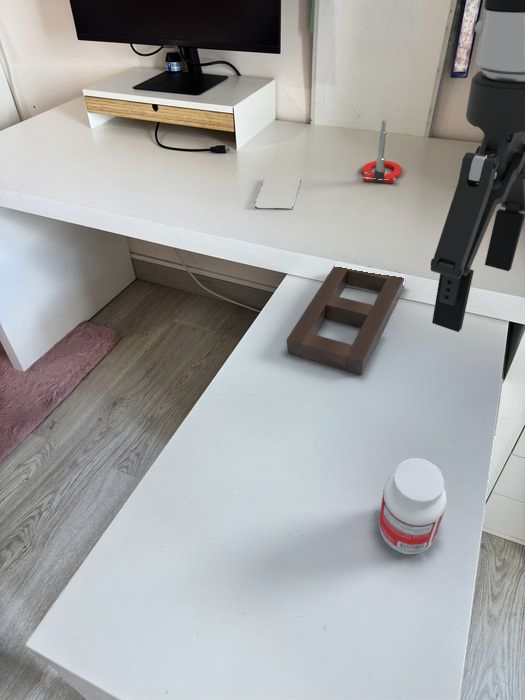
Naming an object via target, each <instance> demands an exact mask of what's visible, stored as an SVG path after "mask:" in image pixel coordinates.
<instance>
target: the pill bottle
mask: <svg viewBox="0 0 525 700" xmlns="http://www.w3.org/2000/svg"><path fill="white" fill-rule="evenodd" d="M444 479H445V478H444V476H443V474H442V472H441V470H440V469H439V467H437V466H436V465H435V464H434V463H433V462H431V461H430V460H427V459H424V458H419V457H411V458H407V459H405V460H402V461H401V462H400V463H398V465H397V466H396V468H395V470H394V471H393V472H392V473H391V474H390V475H389V476H388V478H387V479H386V480H385V483H384V486H383V489H382V490H383V491H382V498H381V505H380V513H379V520H378V527H379V532H380V534H381V536H382V538H383V540H384V542H386V544H387V545H388V546H389V547H390V548H391V549H393V550H395V551H396V552H399V553H402V554H404V555H418V554H421V553H423V552H426V551H427V550H428V549H429V548H430V547H431V546H432V545H433V544H434V541H435V540H436V538H437V537H436V536H437V534H438V531H439V528H440V524H441V522H442V519H443V516H444V513H445V511H446V509H447V503H448V496H447V491H446V489H445V480H444Z"/></svg>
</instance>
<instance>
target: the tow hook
mask: <svg viewBox="0 0 525 700" xmlns="http://www.w3.org/2000/svg"><path fill="white" fill-rule="evenodd" d="M386 124H387V120H385V119H383V120H381V128H380V129H381V130H380V131H379V141H378V153H377V158H376V160H374V161H370V162H367V163H366V164H364V165H363V167H362V175H363V176H364V177H369V178H370V177H371V178H376V179H366V178H363V177H362V181H363V182H373V183H380V184H381V183H382V184H383V183H386V184H394V183H395V181H396V178H398V177H399V176H400V175H401V174H402V165H399V163H397V162H394V161H391V160H385V159H386V158H385V157H384V156H385V146H386V137H387V131H386ZM385 167H386V168H390V169H392V170H393V171H392V172H391V171H390V172H388V173H386V169H385ZM373 168H374V171H371V170H372V169H373ZM364 172H368V173H367V174H365V173H364ZM368 174H370V175H368ZM378 179H383V180H378ZM384 179H389V180H384Z"/></svg>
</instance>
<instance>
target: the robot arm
mask: <svg viewBox="0 0 525 700" xmlns="http://www.w3.org/2000/svg"><path fill="white" fill-rule="evenodd" d="M474 32H475V33H476V34H477V35H479V38H478V43H477V50H476V58H475V63H474V64H475V65H476V66H477V67H478V68H479V71H477V72H476V73H475V74H474V76H473V77H471V81H470V89H469V94H468V101H467V106H466V112H465V117H466V121H467V122H468V123H469V125H471V126H473V127H474V128H479V129H480V130H481V131H482V133H483V137H482V140H481V143H480V145H478V146H477V148H476V150H475V152H468V151H467V152H466V153H465V154H464V156H463V158H462V160H461V166H460V172H459V175H458V181H457V184H456V187H455V191H454V194H453V196H452V200H451V202H450V203H451V204H450V207H449V210H448V212H447V216H446V218H445V222H444V225H443V228H442V230H441V234H440V237H439V241H438V243H437V247H436V249H435V254H434V256H433V258H431V260H430V271H431V272H433V273H438V274H439V279H438V283H437V284H438V285H437V292H436V297H435V303H434V309H433V316H432V320H431V321H432V322H431V323H432V324H433V325H436V326H439V327H442V328H445V329H447V330H451V331H453V332H456V333H459V332H460V331H461V330H462V329H463V324H464V318H465V314H466V310H467V305H468V301H469V295H470V291H471V286H472V282H473V277H474V272H475V270H474V269H472V265H473V263H474V261H475V258H476V256H477V254H478V251H479V248H480V246H481V244H482V242H483V239H484V237H485V234H486V232H487V230H488V227H489V225H490V222H491V220H492V217H493V215H494V214H495V217H494V220H493V221H494V222H493V225H492V230H491V235H490V239H489V244H488V249H487V253H486V257H485V262H484V266H487V267H491V268H494V269H498V270H501V271H506V272H510V271H511V270H512V266H513V263H514V259H515V255H516V251H517V247H518V244H519V240H520V236H521V233H522V229H523V225H524V221H525V213H522V212H525V0H485V1H484V8H483V13H482V19H481V20H478V21H477V23H476V24H475V26H474ZM499 204H500V206H501V208H499V209H498V210H497V211H496V213H495V210H496V208H497V206H498V205H499ZM502 208H505V209H502Z"/></svg>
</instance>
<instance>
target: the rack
mask: <svg viewBox="0 0 525 700" xmlns="http://www.w3.org/2000/svg"><path fill="white" fill-rule="evenodd" d="M324 279H325V280H324V281H323V282H322V284H321V285H320V287H319V289H318V290H317V291H316V293H315V295H314V296H313V298H312V299H311V301H310V302H309V304H308V306H307V307H306V309H305V310H304V312H303V313H302V315H301V317H299V319H298V321H297V322H296V324H295V326H293V329H292V330H291V332H290V333H289V335H288V336H287V338H286V348H287V354H289V355H293V356H296V357H300V358H303V359H306V360H309V361H312V362H317V363H318V364H319V363H320V364H321V365H326V366H329V367H333V368H336V369H338V370H342V371H345V372H350V373H353V374H356V375H360V376H363V374H364V372H365V370H366V368H367V366H368V364H369V362H370V360H371V357H372V355H373V354H374V352H375V350H376V348H377V345H378V344H379V341H380V340H381V339H380V338H381V337H382V335H383V333H384V331H385V329H386V327H387V324H388V323H389V320H390V318H391V316H392V314H393V311H394V310H395V308H396V306H397V304H398V302H399V300H400V298H401V296H402V294H403V292H404V290H405V286H406V284H405V285H404V286H403V282H404V278H402V277H396V276H389V275H381V274H375V273H368V272H363V271H357V270H352V269H347V268H342V267H335V266H334V265H333V267H332V268H331V270H330V271H329V273H328V274H327V276H326V278H324ZM347 285H348V286H353V287H358V288H360V289H361V288H362V289H366V290H370V291H374V292H377V293H378V292H379V293H378V295H377V297H376V299H375V300H374V303H373V304H370V303H366V302H362V301H358V300H353V299H349V298H345V297H343V296H341V295H342V293H343V291H344V289H345V288H346V286H347ZM402 288H403V289H402ZM326 319H328V320H331V321H334V322H339V323H342V324H346V325H350V326H354V327H357V328H360V330H359V332H358V333H357V335H356V337H355V339H354V340H353V342H352V344H350V343H347V342H342V341H339V340H336V339H333V338H328V337H326V336H321V335H318V333H319V331H320V330H321V328H322V326H323V325H324V323H325V321H326Z"/></svg>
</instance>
